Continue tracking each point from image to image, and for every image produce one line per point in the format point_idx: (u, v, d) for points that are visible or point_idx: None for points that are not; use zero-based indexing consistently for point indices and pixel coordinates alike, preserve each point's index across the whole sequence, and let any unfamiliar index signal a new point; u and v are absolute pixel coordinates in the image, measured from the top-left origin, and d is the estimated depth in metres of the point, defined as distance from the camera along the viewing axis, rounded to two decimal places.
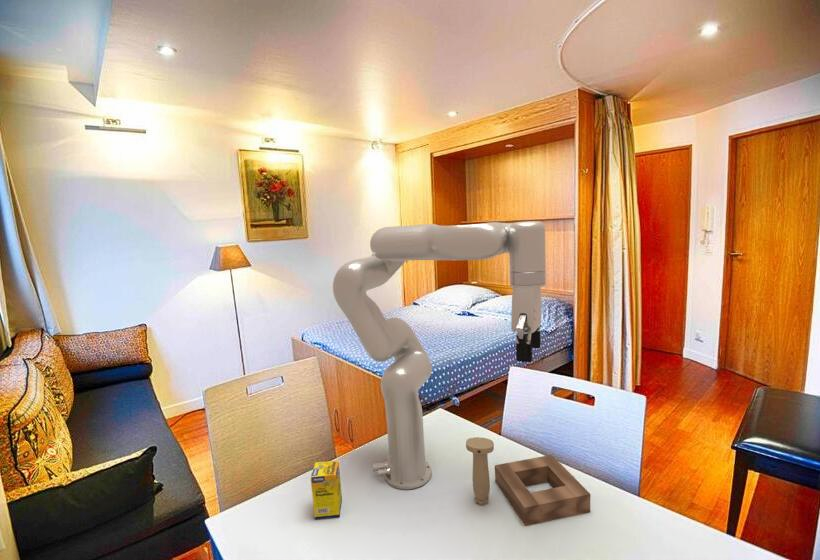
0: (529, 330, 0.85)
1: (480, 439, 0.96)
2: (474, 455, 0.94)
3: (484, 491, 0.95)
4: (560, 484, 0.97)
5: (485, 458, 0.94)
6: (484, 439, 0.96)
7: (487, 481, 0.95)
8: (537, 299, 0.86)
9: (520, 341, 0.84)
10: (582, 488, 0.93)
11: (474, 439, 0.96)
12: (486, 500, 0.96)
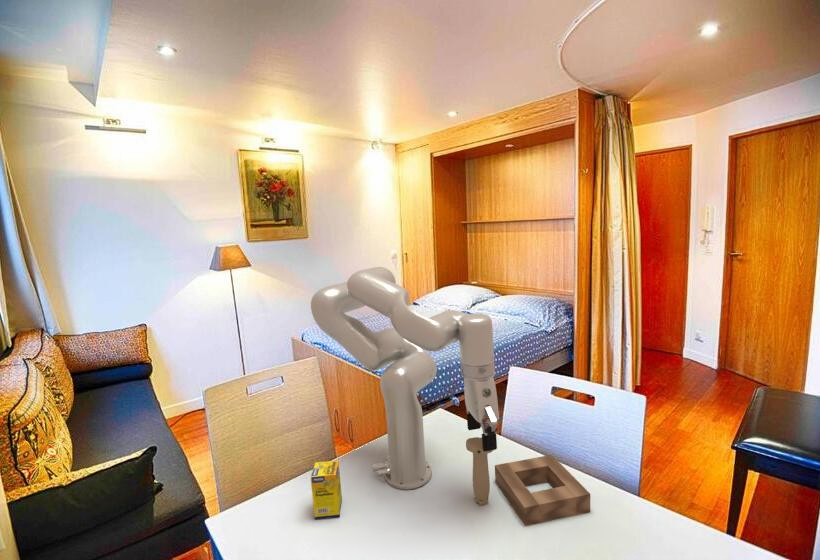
0: None
1: (480, 439, 0.96)
2: (474, 455, 0.94)
3: (484, 491, 0.95)
4: (560, 484, 0.97)
5: (485, 458, 0.94)
6: None
7: (487, 481, 0.95)
8: (465, 384, 0.94)
9: None
10: (582, 488, 0.93)
11: (474, 439, 0.96)
12: (486, 500, 0.96)
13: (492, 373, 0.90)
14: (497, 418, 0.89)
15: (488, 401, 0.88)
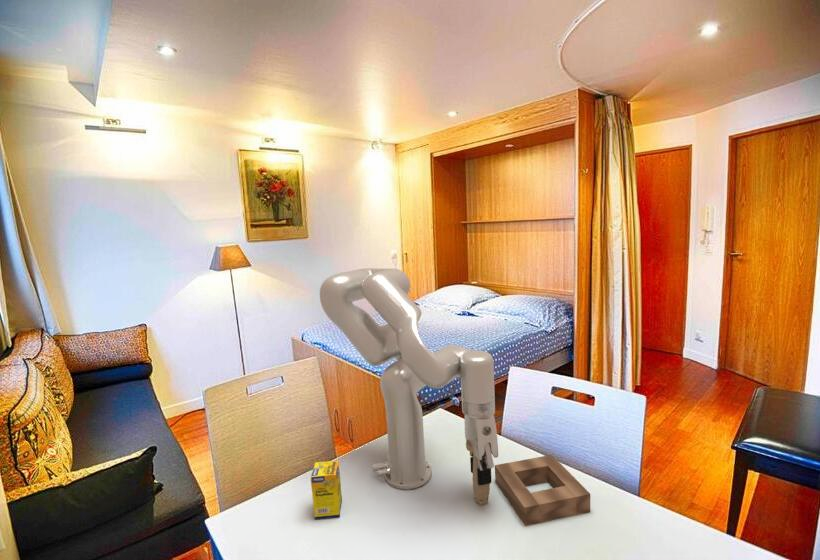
0: None
1: None
2: (474, 455, 0.94)
3: (484, 491, 0.95)
4: (560, 484, 0.97)
5: None
6: None
7: None
8: (466, 419, 0.96)
9: None
10: (582, 488, 0.93)
11: None
12: (486, 500, 0.96)
13: (492, 411, 0.91)
14: (496, 455, 0.91)
15: (488, 439, 0.89)
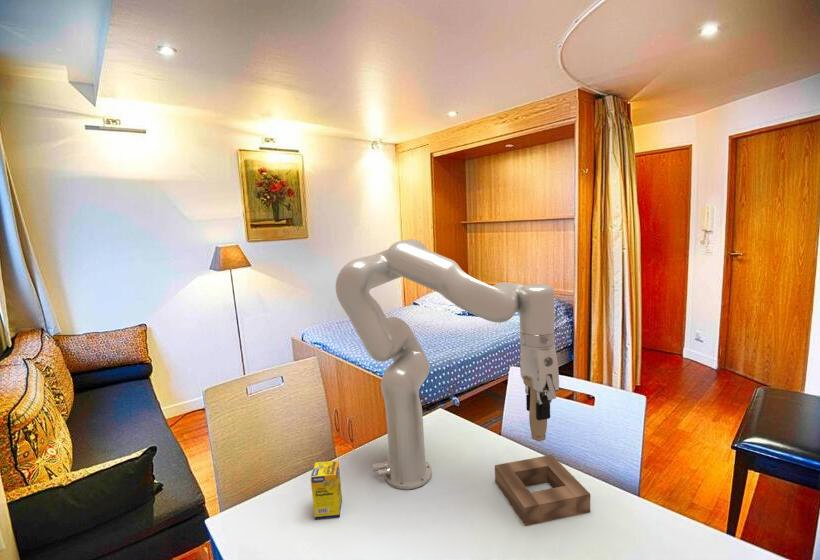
0: None
1: None
2: (532, 390, 0.93)
3: (542, 427, 0.93)
4: (560, 484, 0.97)
5: (544, 393, 0.93)
6: None
7: None
8: (523, 354, 0.94)
9: None
10: (582, 488, 0.93)
11: None
12: (544, 436, 0.94)
13: (553, 343, 0.90)
14: (557, 387, 0.89)
15: (550, 370, 0.88)
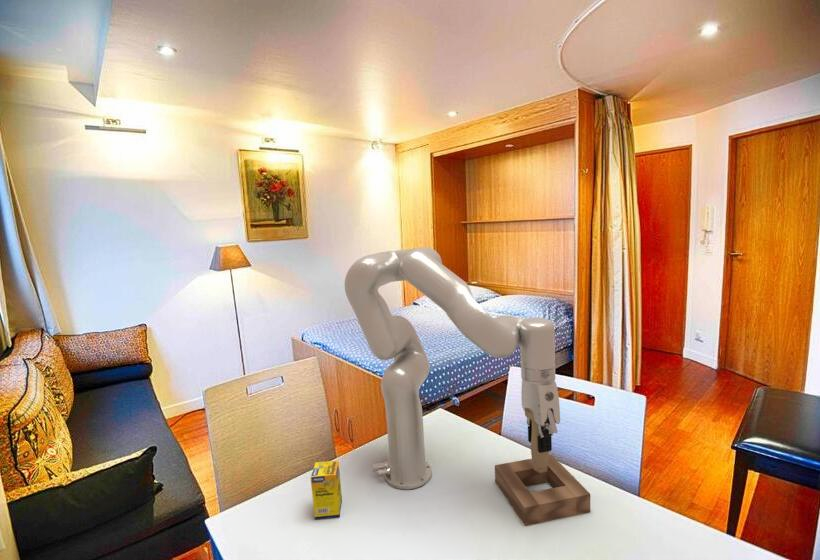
0: None
1: None
2: (534, 423, 0.94)
3: (544, 459, 0.94)
4: (560, 484, 0.97)
5: None
6: None
7: None
8: (524, 387, 0.95)
9: None
10: (582, 488, 0.93)
11: None
12: (545, 468, 0.95)
13: (554, 377, 0.91)
14: (559, 421, 0.90)
15: (551, 404, 0.89)
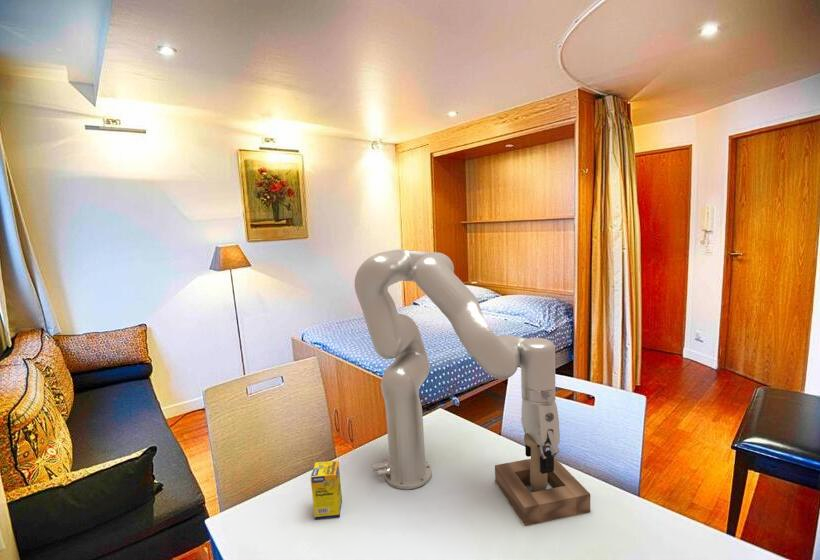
0: None
1: None
2: (533, 450, 0.95)
3: (543, 485, 0.95)
4: (560, 484, 0.97)
5: None
6: None
7: (546, 475, 0.95)
8: (524, 406, 0.96)
9: None
10: (582, 488, 0.93)
11: None
12: None
13: (554, 397, 0.92)
14: (558, 441, 0.91)
15: (551, 425, 0.90)
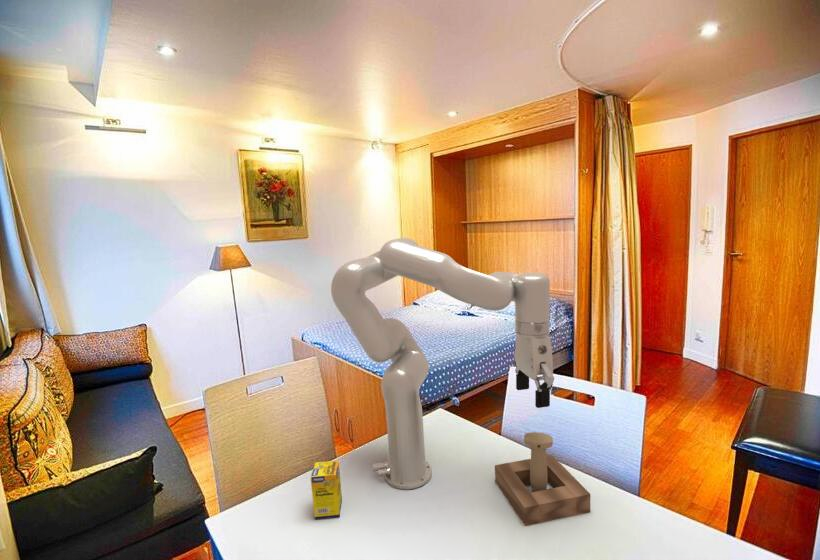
0: None
1: (538, 434, 0.97)
2: (533, 450, 0.95)
3: (543, 485, 0.95)
4: (560, 484, 0.97)
5: (544, 453, 0.95)
6: (542, 434, 0.97)
7: (546, 475, 0.95)
8: (518, 343, 0.95)
9: None
10: (582, 488, 0.93)
11: (532, 434, 0.97)
12: None
13: (548, 331, 0.91)
14: None
15: (544, 358, 0.89)
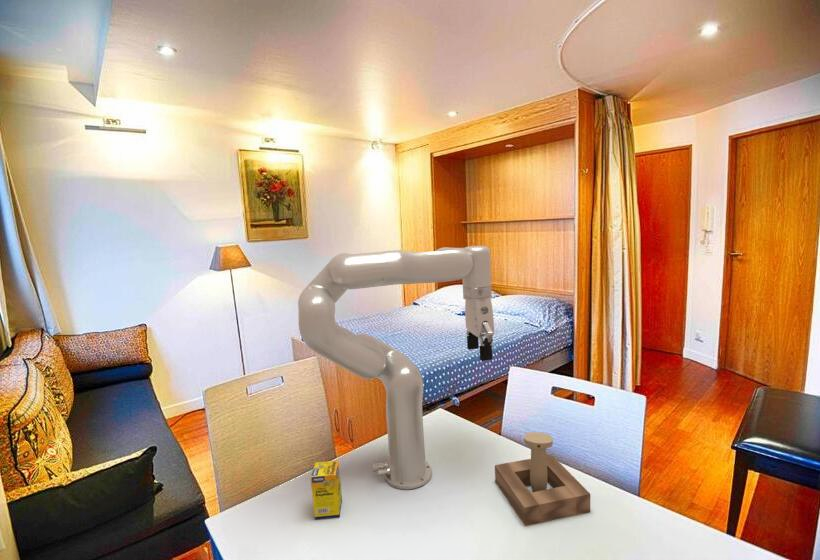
0: None
1: (538, 434, 0.97)
2: (533, 450, 0.95)
3: (543, 485, 0.95)
4: (560, 484, 0.97)
5: (544, 453, 0.95)
6: (542, 433, 0.97)
7: (546, 475, 0.95)
8: (466, 307, 1.10)
9: None
10: (582, 488, 0.93)
11: (532, 434, 0.97)
12: None
13: (489, 295, 1.06)
14: (493, 333, 1.05)
15: (485, 317, 1.04)
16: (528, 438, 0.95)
